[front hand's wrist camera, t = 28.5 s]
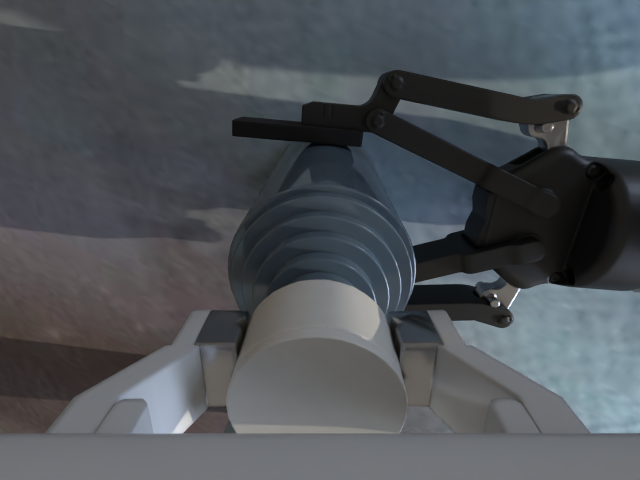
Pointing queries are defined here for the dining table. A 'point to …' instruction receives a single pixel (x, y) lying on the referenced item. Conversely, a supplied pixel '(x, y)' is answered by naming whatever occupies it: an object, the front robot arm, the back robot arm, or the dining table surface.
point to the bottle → (322, 230)
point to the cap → (317, 365)
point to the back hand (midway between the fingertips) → (238, 195)
